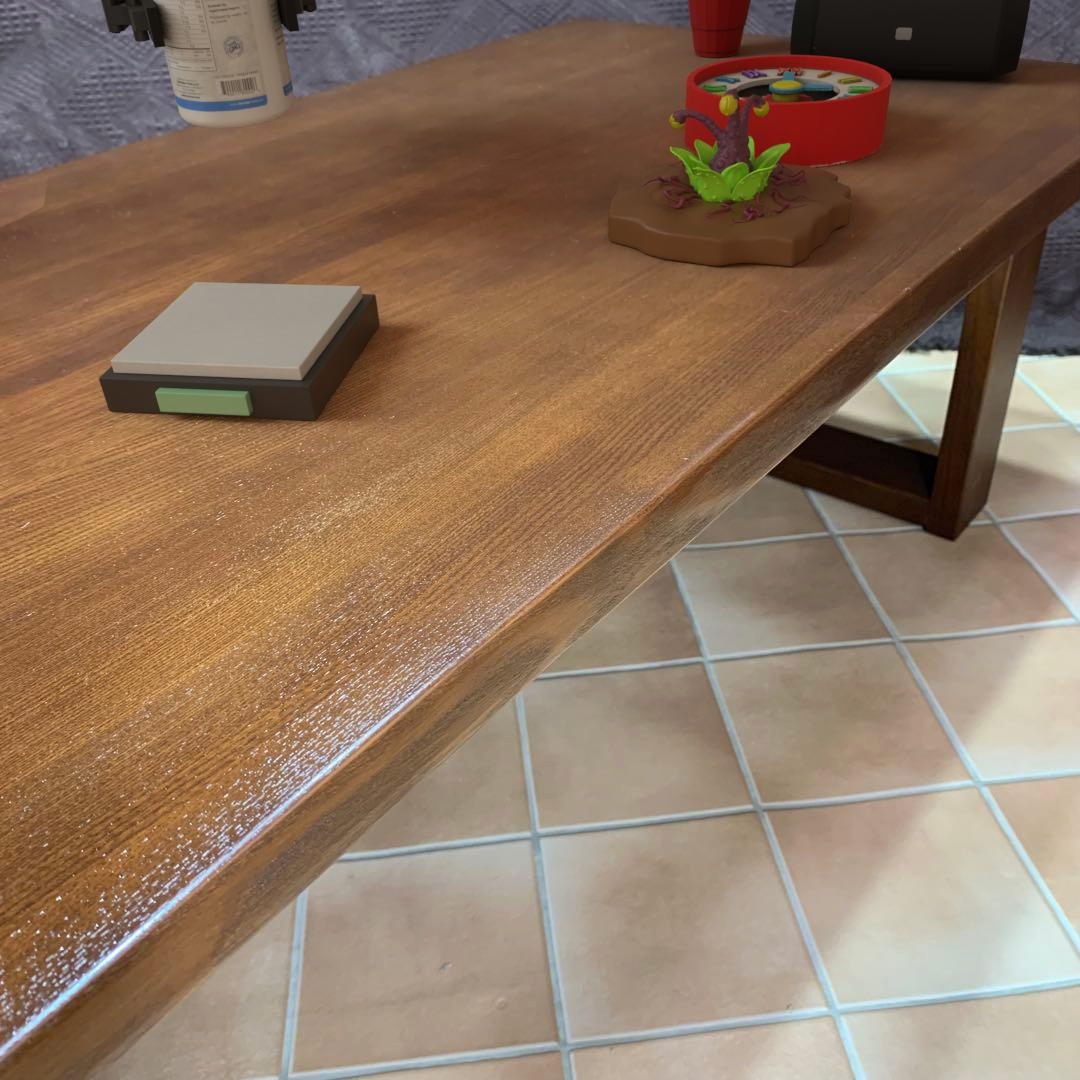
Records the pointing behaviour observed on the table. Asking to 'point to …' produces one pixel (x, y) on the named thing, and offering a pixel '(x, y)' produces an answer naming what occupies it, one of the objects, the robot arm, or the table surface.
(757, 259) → the plant
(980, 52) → the portable speaker
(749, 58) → the toy clock
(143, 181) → the table surface
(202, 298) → the scale
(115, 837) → the table surface
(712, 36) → the plastic cup
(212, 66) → the supplement tub
